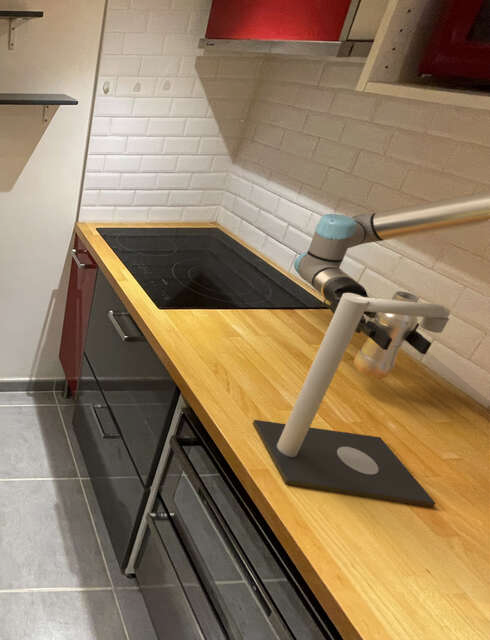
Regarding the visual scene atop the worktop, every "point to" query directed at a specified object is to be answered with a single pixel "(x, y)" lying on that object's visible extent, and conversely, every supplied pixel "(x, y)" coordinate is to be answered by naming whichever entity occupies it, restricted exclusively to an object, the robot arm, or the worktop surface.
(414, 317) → the plastic bottle
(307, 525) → the worktop surface
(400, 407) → the worktop surface
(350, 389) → the worktop surface
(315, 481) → the tap
